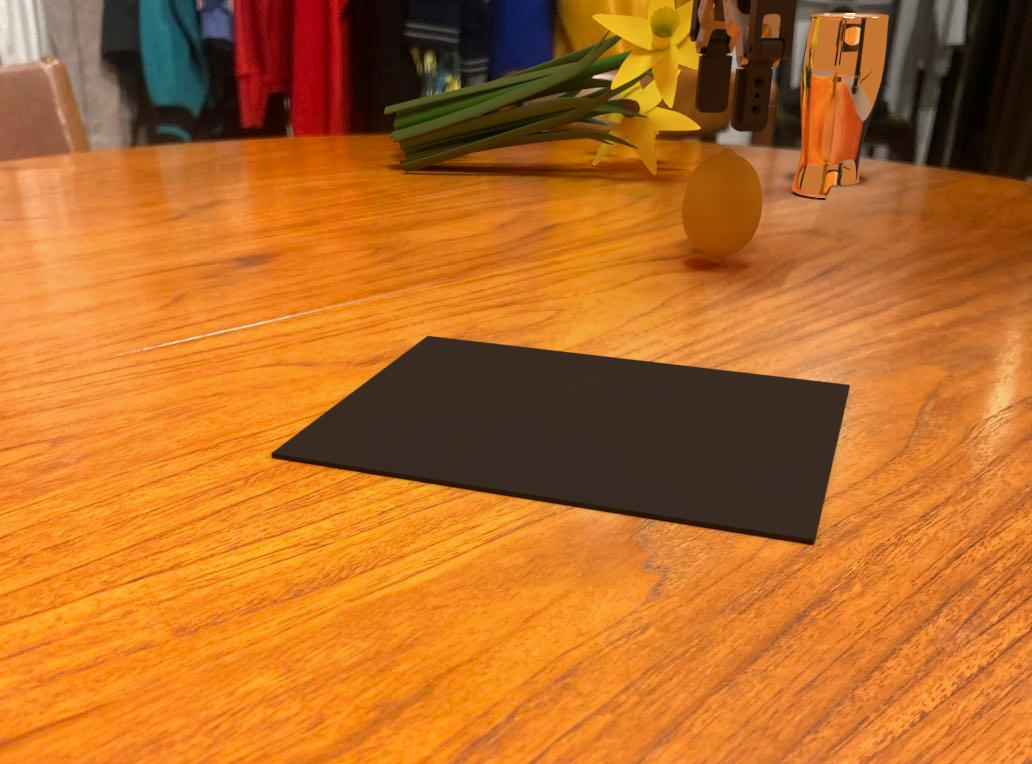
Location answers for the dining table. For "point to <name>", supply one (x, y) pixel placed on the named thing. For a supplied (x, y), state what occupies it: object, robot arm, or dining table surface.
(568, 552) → the dining table surface
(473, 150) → the daffodil flowers
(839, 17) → the beer glass
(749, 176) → the lemon
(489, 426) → the felt mat
